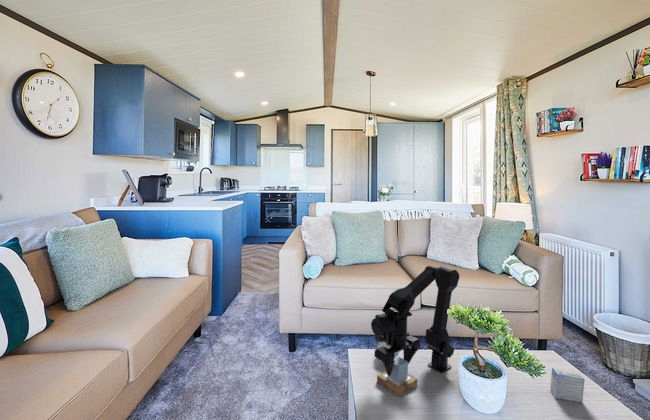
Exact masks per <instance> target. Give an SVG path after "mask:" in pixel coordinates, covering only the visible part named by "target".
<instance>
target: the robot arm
mask: <svg viewBox="0 0 650 420" xmlns="http://www.w3.org/2000/svg"><path fill="white" fill-rule="evenodd" d="M459 280H460V272H458V270H456V269H453V268H449V267H446V266H443V265H440V266H439V267H436V266H433V265H426V266H425V268H424V270H422V271H421V273H420V274H418V275H417V276H416V277H415V278H413V279H412V281H411V282H409V284H407V285H406V286H405V287H402V288H401V287H400V288H398V289H396V290H395V291H393V292H391V293H390V294H389V296H388V298H387V300H386V302H385V304H384V306H383V308H382V310H381V311H382V312H383V313H381V314H380V313H379V314H375V316H374V318H372V320H371V322H370V327H371V331H372V333H373V334H374V338H375V341H376V342H378V343H379V342H386V344H387V345H388V346H389V345H390V347H391V348H389V349H388V348H386V347H384V346H382V347H380V348H378V349H377V348H376V349H375V350H374V358H376V359H377V360H379V361H381V362H382V364H383V366H384V369H385V371H386V372H387V375H388V376H390V375H391V373H392V369H393V366H394V363H395V361H394V358H395V355H394V354H395V353H397V352H399V351H400V352H401V351H403V359H404V360H406V361H407V362H408V365H409V364H410V362H411V361H412V359H413V357H414V356H415V354H416V353H417V351H418V350H419V349H420V348H421V341H420V339H419V338H418V337H415V336H413V335H411V334H410V332H409V331H408V317H411V316H413V313H412V312H410V310H411V309H412V307H413V306H414V305H415V301H416V298H417V297H418V296H419V295H420V294H421V293H422V292H424V290H426V289H427V288H428V287H429V286H430V285H431V284H432V283H433V282H434V281H435V284H436V287H437V293H436V294H437V296H436V301H435V308H434V314H433V320H432V325H431V327H430V328H426V330H425V336H424V340H425V344H426V346H427V348H428V349H429V350H431V359H430V360H431V361H430V362H429V363H427V366H429V367H430V368H432V369H434V370H435V371H438V372H440V373H445V372H446V371H448V370H449V369H451V368H452V365H451V364H449V359H450V358H452V356H453V355H454V353H455V349H454V348H453V346H452V345H451V344H450V336H449V333H448V329H447V325H448V318H449V313H448V314H447V309H449V310H450V305H451V300H452V292H454V290H455V289H456V288H457V287H458V284H459ZM400 352H399V353H400Z"/></svg>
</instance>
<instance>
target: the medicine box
mask: <svg viewBox="0 0 650 420" xmlns="http://www.w3.org/2000/svg"><path fill="white" fill-rule="evenodd" d="M550 378H551V379H550V392H551V394H552V395H553V397H554V398H555V399H558V400H565V401H571V402H576V403H581V404H583V401H584V389H585V378H584V377H583V375H582V374H581V373H580V372H579V371H577V370H572V369H570V370H569V369H564V368H555V367H551V377H550Z"/></svg>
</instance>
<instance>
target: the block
mask: <svg viewBox="0 0 650 420" xmlns="http://www.w3.org/2000/svg"><path fill="white" fill-rule="evenodd" d="M394 361H395V363H394V366H393V369H392V373H391V375H390V376H388V375H387V376H388V377H390V378H391V379H393V380H394V381H396V382H397V383H399V382H401V381H403V380H405V379H406V378H408V374H409V370H408V369H409V364H408V362H407V361H406V360H404V358H402V357H400V356H399V355H398V356H395V358H394Z"/></svg>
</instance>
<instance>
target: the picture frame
mask: <svg viewBox="0 0 650 420" xmlns="http://www.w3.org/2000/svg"><path fill="white" fill-rule="evenodd" d="M376 382H377V383H378V384H379V385H381V386H383V387H384V388H385V389H387V390H388V391H389V392H391V393H392V394H394V395H395V396H397V397H398V398H400V397H402V395H405V394H406V393H408V392H409V391H410V390H413V389H414V388H416V387H418V378H417V377H415V376H413V375H411V374H410V373H408V378H406V379H405V380H403V381H401V382H399V383H397V382H396V381H394V380H393V379H391V378H390V377H388V376H387V372H386V370H385V371H383V372H381V373H379V374H377V375H376Z"/></svg>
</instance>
